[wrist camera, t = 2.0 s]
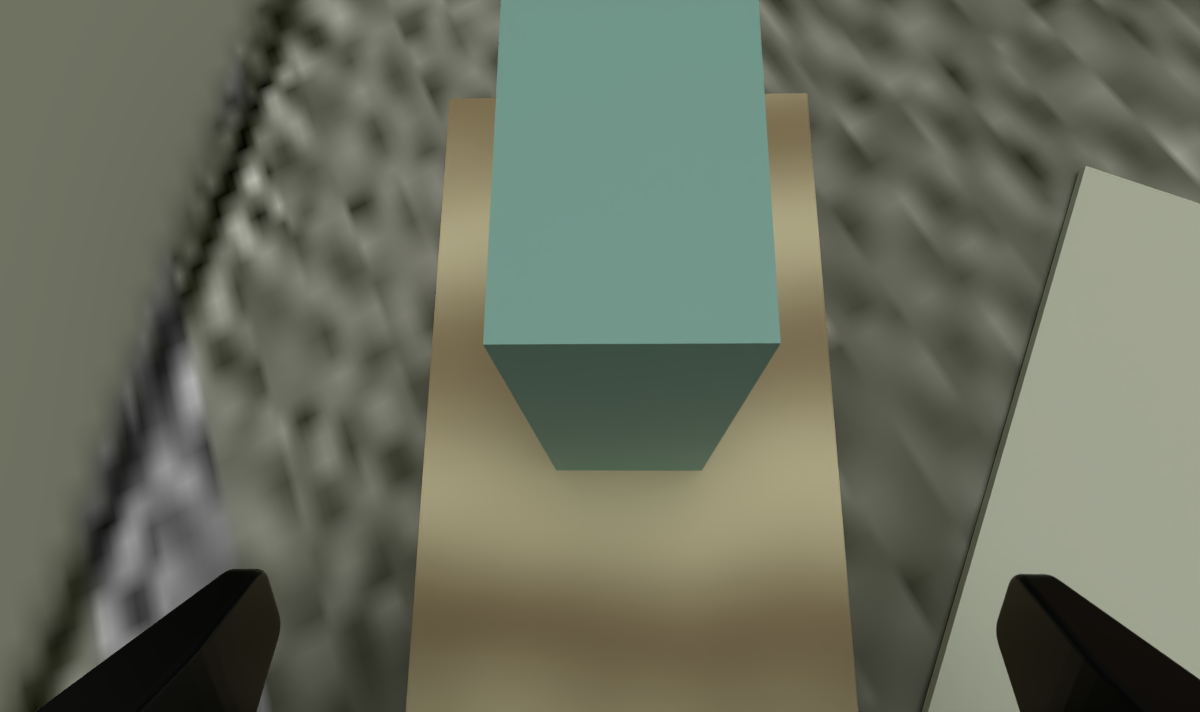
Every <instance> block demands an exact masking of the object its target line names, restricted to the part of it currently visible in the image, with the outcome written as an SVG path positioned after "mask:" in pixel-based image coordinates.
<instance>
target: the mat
mask: <svg viewBox="0 0 1200 712" xmlns="http://www.w3.org/2000/svg"><path fill="white" fill-rule="evenodd" d="M1018 574H1047V575H1051V576H1054V577H1055V578H1057V579H1059V580H1060V581H1062V582H1063V583H1064V584H1066V585H1067V586H1069V587H1070V588H1072V589H1073V590H1074V591H1076V592H1077V593H1079V594H1080V595H1081V596H1083V597H1084V598H1086V599H1087V600H1089V601H1090V602H1091V603H1093V604H1094V605H1096V606H1097V607H1098V608H1100V609H1101V610H1103V611H1104V612H1106V613H1107V614H1108V615H1110V616H1111V617H1113V618H1114V619H1115V620H1117V621H1118V622H1120V623H1121V624H1122V625H1124V626H1125V627H1127V628H1128V629H1130V630H1131V631H1132V632H1134V633H1135V634H1137V635H1138V636H1139V637H1141V638H1142V639H1144V640H1145V641H1147V642H1148V643H1149V644H1151V645H1152V646H1154V647H1155V648H1156V649H1158V650H1159V651H1161V652H1162V653H1164V654H1165V655H1166V656H1168V657H1169V658H1171V659H1172V660H1173V661H1175V662H1176V663H1178V664H1179V665H1181V666H1182V667H1183V668H1185V669H1186V670H1188V671H1189V672H1190V673H1192V674H1193V675H1195V676H1196V677H1198V678H1199V679H1200V204H1199V203H1196V202H1193V201H1190V200H1187V199H1184V198H1181V197H1178V196H1175V195H1172V194H1169V193H1166V192H1163V191H1160V190H1157V189H1154V188H1151V187H1148V186H1145V185H1142V184H1139V183H1136V182H1133V181H1130V180H1127V179H1124V178H1121V177H1118V176H1115V175H1112V174H1109V173H1106V172H1103V171H1100V170H1097V169H1094V168H1091V167H1088V166H1085V167H1084V168H1083V169H1082V170H1081V171H1080V172H1079V173H1078V176H1077V179H1076V183H1075V186H1074V190H1073V193H1072V197H1071V200H1070V204H1069V207H1068V210H1067V214H1066V217H1065V221H1064V224H1063V228H1062V231H1061V234H1060V238H1059V241H1058V245H1057V248H1056V252H1055V255H1054V259H1053V262H1052V265H1051V269H1050V272H1049V276H1048V279H1047V283H1046V286H1045V289H1044V293H1043V296H1042V300H1041V303H1040V307H1039V310H1038V313H1037V317H1036V320H1035V324H1034V327H1033V331H1032V334H1031V338H1030V341H1029V344H1028V348H1027V351H1026V355H1025V358H1024V362H1023V365H1022V368H1021V372H1020V375H1019V379H1018V382H1017V386H1016V389H1015V393H1014V396H1013V399H1012V403H1011V406H1010V410H1009V413H1008V417H1007V420H1006V423H1005V427H1004V430H1003V434H1002V437H1001V441H1000V444H999V447H998V451H997V454H996V458H995V461H994V465H993V468H992V472H991V475H990V478H989V482H988V485H987V489H986V492H985V496H984V499H983V502H982V506H981V509H980V513H979V516H978V520H977V523H976V527H975V530H974V533H973V537H972V540H971V544H970V547H969V551H968V554H967V557H966V561H965V564H964V568H963V571H962V575H961V578H960V581H959V585H958V588H957V592H956V595H955V599H954V602H953V606H952V609H951V612H950V616H949V619H948V623H947V626H946V630H945V633H944V636H943V640H942V643H941V647H940V650H939V654H938V657H937V661H936V664H935V667H934V671H933V674H932V678H931V681H930V685H929V688H928V691H927V695H926V698H925V702H924V705H923V709H922V712H1020V710H1019V707H1018V704H1017V701H1016V698H1015V695H1014V692H1013V689H1012V686H1011V682H1010V679H1009V676H1008V673H1007V670H1006V667H1005V664H1004V661H1003V658H1002V654H1001V651H1000V648H999V645H998V641H997V636H996V624H997V620H998V616H999V613H1000V610H1001V607H1002V604H1003V601H1004V597H1005V594H1006V591H1007V588H1008V585H1009V582H1010V580H1011V579H1012V578H1013V577H1014V576H1015V575H1018Z"/></svg>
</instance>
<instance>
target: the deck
mask: <svg viewBox="0 0 1200 712" xmlns="http://www.w3.org/2000/svg"><path fill="white" fill-rule="evenodd" d="M495 108H496V98H465V99H450V106H449V120H448V134H447V147H446V161H445V175H444V189H443V203H442V217H441V231H440V244H439V258H438V272H437V286H436V300H435V314H434V327H433V341H432V355H431V369H430V383H429V397H428V411H427V424H426V438H425V452H424V466H423V480H422V494H421V507H420V521H419V535H418V549H417V563H416V577H415V591H414V604H413V618H412V632H411V646H410V660H409V674H408V687H407V701H406V712H858V701H857V689H856V677H855V665H854V653H853V641H852V629H851V616H850V604H849V592H848V580H847V568H846V556H845V544H844V532H843V520H842V508H841V496H840V484H839V472H838V460H837V448H836V436H835V424H834V412H833V400H832V388H831V376H830V364H829V352H828V340H827V328H826V316H825V304H824V292H823V280H822V268H821V256H820V244H819V232H818V220H817V208H816V196H815V184H814V172H813V160H812V148H811V136H810V124H809V112H808V100H807V93H796V94H765V109H766V124H767V140H768V155H769V171H770V186H771V201H772V217H773V232H774V248H775V263H776V279H777V294H778V310H779V325H780V341H781V343H780V345H779V347H778V348H777V350H776V352H775V353H774V355H773V356H772V358H771V360H770V361H769V363H768V364H767V366H766V368H765V369H764V371H763V373H762V374H761V376H760V377H759V379H758V381H757V382H756V384H755V385H754V387H753V389H752V390H751V392H750V394H749V395H748V397H747V398H746V400H745V402H744V403H743V405H742V406H741V408H740V410H739V411H738V413H737V415H736V416H735V418H734V419H733V421H732V423H731V424H730V426H729V427H728V429H727V431H726V432H725V434H724V436H723V437H722V439H721V440H720V442H719V444H718V445H717V447H716V448H715V450H714V452H713V453H712V455H711V457H710V458H709V460H708V461H707V463H706V465H705V466H704V468H703V469H702V471H608V470H556V469H555V467H554V465H553V464H552V462H551V460H550V458H549V457H548V455H547V453H546V452H545V450H544V448H543V446H542V445H541V443H540V441H539V440H538V438H537V436H536V434H535V433H534V431H533V429H532V428H531V426H530V424H529V422H528V421H527V419H526V417H525V416H524V414H523V412H522V410H521V409H520V407H519V405H518V404H517V402H516V400H515V398H514V397H513V395H512V393H511V391H510V390H509V388H508V386H507V385H506V383H505V381H504V379H503V378H502V376H501V374H500V373H499V371H498V369H497V367H496V366H495V364H494V362H493V361H492V359H491V357H490V355H489V354H488V352H487V350H486V349H485V347H484V345H483V338H484V319H485V300H486V280H487V261H488V242H489V223H490V204H491V185H492V166H493V146H494V127H495Z"/></svg>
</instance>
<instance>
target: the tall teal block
mask: <svg viewBox="0 0 1200 712" xmlns="http://www.w3.org/2000/svg"><path fill="white" fill-rule="evenodd" d="M780 343H781V341H780V325H779V310H778V294H777V279H776V263H775V248H774V232H773V217H772V201H771V186H770V171H769V155H768V140H767V124H766V109H765V93H764V78H763V62H762V47H761V31H760V16H759V0H501V12H500V32H499V51H498V70H497V89H496V108H495V127H494V146H493V166H492V185H491V204H490V223H489V242H488V261H487V280H486V300H485V319H484V338H483V345H484V347H485V349H486V350H487V352H488V354H489V355H490V357H491V359H492V361H493V362H494V364H495V366H496V367H497V369H498V371H499V373H500V374H501V376H502V378H503V379H504V381H505V383H506V385H507V386H508V388H509V390H510V391H511V393H512V395H513V397H514V398H515V400H516V402H517V404H518V405H519V407H520V409H521V410H522V412H523V414H524V416H525V417H526V419H527V421H528V422H529V424H530V426H531V428H532V429H533V431H534V433H535V434H536V436H537V438H538V440H539V441H540V443H541V445H542V446H543V448H544V450H545V452H546V453H547V455H548V457H549V458H550V460H551V462H552V464H553V465H554V467H555V469H556V470H608V471H702V469H703V468H704V466H705V465H706V463H707V461H708V460H709V458H710V457H711V455H712V453H713V452H714V450H715V448H716V447H717V445H718V444H719V442H720V440H721V439H722V437H723V436H724V434H725V432H726V431H727V429H728V427H729V426H730V424H731V423H732V421H733V419H734V418H735V416H736V415H737V413H738V411H739V410H740V408H741V406H742V405H743V403H744V402H745V400H746V398H747V397H748V395H749V394H750V392H751V390H752V389H753V387H754V385H755V384H756V382H757V381H758V379H759V377H760V376H761V374H762V373H763V371H764V369H765V368H766V366H767V364H768V363H769V361H770V360H771V358H772V356H773V355H774V353H775V352H776V350H777V348H778V347H779V345H780Z"/></svg>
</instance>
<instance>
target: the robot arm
mask: <svg viewBox="0 0 1200 712" xmlns="http://www.w3.org/2000/svg"><path fill="white" fill-rule="evenodd" d="M279 633H280V616H279V612H278V609H277V605H276V602H275V599H274V595H273V592H272V589H271V585H270V582H269V579H268V576H267V574H266V573H265V572H264V571H263V570H259V569H232V570H228V571H226V572H225V573H223V574H221V575H220V576H219V577H217V578H216V579H215V580H213V581H212V582H211V583H209V584H208V585H207V586H205V587H204V588H202V589H201V590H200V591H198V592H197V593H196V594H194V595H193V596H192V597H190V598H189V599H187V600H186V601H185V602H183V603H182V604H181V605H179V606H178V607H177V608H175V609H174V610H173V611H171V612H170V613H168V614H167V615H166V616H164V617H163V618H162V619H160V620H159V621H158V622H156V623H155V624H154V625H152V626H151V627H149V628H148V629H147V630H145V631H144V632H143V633H141V634H140V635H139V636H137V637H136V638H135V639H133V640H132V641H130V642H129V643H128V644H126V645H125V646H124V647H122V648H121V649H120V650H118V651H117V652H115V653H114V654H113V655H111V656H110V657H109V658H107V659H106V660H105V661H103V662H102V663H101V664H99V665H98V666H96V667H95V668H94V669H92V670H91V671H90V672H88V673H87V674H86V675H84V676H83V677H82V678H80V679H79V680H77V681H76V682H75V683H73V684H72V685H71V686H69V687H68V688H67V689H65V690H64V691H62V692H61V693H60V694H58V695H57V696H56V697H54V698H53V699H52V700H50V701H49V702H48V703H46V704H45V705H43V706H42V707H41V708H39V709H38V710H37V711H35V712H256V711H257V708H258V705H259V701H260V698H261V695H262V691H263V688H264V684H265V681H266V678H267V674H268V671H269V668H270V664H271V661H272V658H273V654H274V651H275V648H276V644H277V641H278V637H279ZM996 636H997V641H998V645H999V648H1000V651H1001V654H1002V658H1003V661H1004V664H1005V667H1006V670H1007V673H1008V676H1009V679H1010V682H1011V686H1012V689H1013V692H1014V695H1015V698H1016V701H1017V704H1018V707H1019V710H1020V712H1200V679H1199V678H1198V677H1196V676H1195V675H1193V674H1192V673H1190V672H1189V671H1188V670H1186V669H1185V668H1183V667H1182V666H1181V665H1179V664H1178V663H1176V662H1175V661H1173V660H1172V659H1171V658H1169V657H1168V656H1166V655H1165V654H1164V653H1162V652H1161V651H1159V650H1158V649H1156V648H1155V647H1154V646H1152V645H1151V644H1149V643H1148V642H1147V641H1145V640H1144V639H1142V638H1141V637H1139V636H1138V635H1137V634H1135V633H1134V632H1132V631H1131V630H1130V629H1128V628H1127V627H1125V626H1124V625H1122V624H1121V623H1120V622H1118V621H1117V620H1115V619H1114V618H1113V617H1111V616H1110V615H1108V614H1107V613H1106V612H1104V611H1103V610H1101V609H1100V608H1098V607H1097V606H1096V605H1094V604H1093V603H1091V602H1090V601H1089V600H1087V599H1086V598H1084V597H1083V596H1081V595H1080V594H1079V593H1077V592H1076V591H1074V590H1073V589H1072V588H1070V587H1069V586H1067V585H1066V584H1064V583H1063V582H1062V581H1060V580H1059V579H1057V578H1055V577H1054V576H1051V575H1047V574H1018V575H1015V576H1014V577H1013V578H1012V579H1011V580H1010V582H1009V585H1008V588H1007V591H1006V594H1005V597H1004V601H1003V604H1002V607H1001V610H1000V613H999V616H998V620H997V624H996Z"/></svg>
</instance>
